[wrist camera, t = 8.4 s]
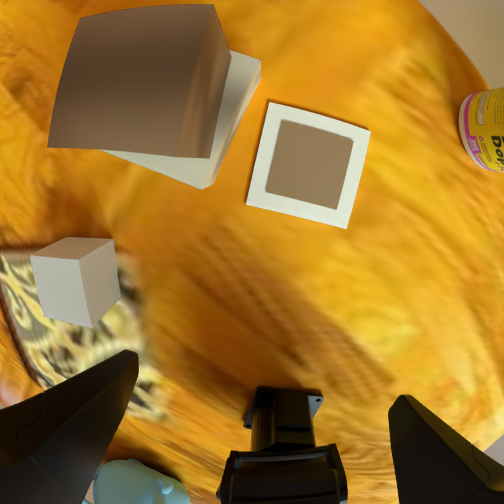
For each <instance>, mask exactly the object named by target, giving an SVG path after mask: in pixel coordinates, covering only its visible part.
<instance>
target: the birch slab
mask: <svg viewBox="0 0 504 504" xmlns="http://www.w3.org/2000/svg"><path fill="white" fill-rule="evenodd" d="M229 51H230V54H231V57H232V58H231V62H230V66H229V70H228V75H227V79H226V83H225V88H224V92H223V96H222V101H221V106H220V110H219V115H218V120H217V125H216V130H215V135H214V140H213V145H212V150H211V155H210V159H204V158H182V157H170V156H162V155H153V154H144V153H134V152H124V151H112V150H101V151H103V152H106V153H109V154H111V155H114V156H117V157H119V158H122V159H125V160H127V161H130V162H133V163H135V164H138V165H140V166H143V167H146V168H148V169H151V170H153V171H156V172H158V173H161V174H163V175H166V176H169V177H171V178H174V179H176V180H178V181H181V182H183V183H186V184H188V185H191V186H193V187H196V188H198V189H200V190H202V189H204V188H206V187H208V186H211V185H213V183H214V181H215V178H216V176H217V174H218V171H219V169H220V166H221V164H222V162H223V159H224V157H225V155H226V153H227V150H228V148H229V146H230V144H231V141H232V139H233V137H234V135H235V132H236V130H237V128H238V126H239V124H240V121H241V119H242V117H243V115H244V113H245V111H246V109H247V107H248V104H249V102H250V100H251V98H252V96H253V94H254V92H255V90H256V88H257V86H258V84H259V82H260V80H261V63H260V60H259V59H256V58H253V57H250V56H247V55H244V54H241V53H238V52H235V51H231V50H229Z"/></svg>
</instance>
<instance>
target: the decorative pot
mask: <svg viewBox="0 0 504 504" xmlns="http://www.w3.org/2000/svg"><path fill="white" fill-rule="evenodd" d="M93 480H94V483H93V499H94V504H189V503H190V497H189V494H188V492H187V490H186V489H185V487H184V486H183V485H182V484H181V483H179V481H178V480H177V479H175V478H172V477H168V476H166V475H164V474H162V473H160V472H157V471H155V470H153V469H151V468H149V467H146V466H144V465H143V464H142V463H141V462H140V461H138V460H135V459H131V458H130V459H128V460H113V461H110V462H108V463H106V464H103V465H102V466H101V465H99V468H98V470H97V472H96V474H95V476H94V478H93ZM93 480H92V481H93ZM82 503H83V504H92V503H90V502H88V501H87V500H86V499H85V498H84V500H83V502H82Z"/></svg>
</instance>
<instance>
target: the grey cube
mask: <svg viewBox="0 0 504 504" xmlns="http://www.w3.org/2000/svg"><path fill="white" fill-rule="evenodd" d="M30 259H31V265H32V270H33V274H34V279H35V283H36V288H37V292H38V296H39V300H40V303H41V307H42V310H43V314H44V317H48V318H51V319H55V320H59V321H63V322H68V323H72V324H76V325H81V326H85V327H90V328H93V327H94V326H95V325H96V324H97V322H98V321H99V320H100V319H101V318H102V317H103V316H104V315H105V314H106V313H107V312H108V311H109V309H110V308H111V307H112V306H113V305H114V304H115V303H116V302H117V301H118V300H119V299H120V298H121V294H120V288H119V281H118V274H117V266H116V257H115V248H114V239H104V238H80V237H66V238H63V239H61V240H59V241H57V242H55V243H53V244H51V245H49V246H47V247H45V248H43V249H41V250H39V251H37V252H35V253H33V254H31V255H30Z"/></svg>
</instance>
